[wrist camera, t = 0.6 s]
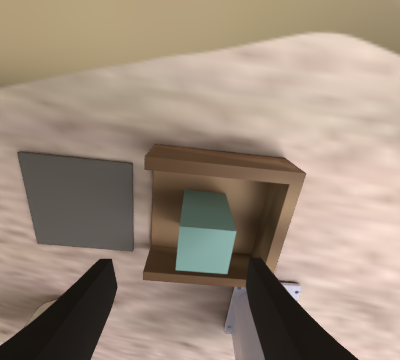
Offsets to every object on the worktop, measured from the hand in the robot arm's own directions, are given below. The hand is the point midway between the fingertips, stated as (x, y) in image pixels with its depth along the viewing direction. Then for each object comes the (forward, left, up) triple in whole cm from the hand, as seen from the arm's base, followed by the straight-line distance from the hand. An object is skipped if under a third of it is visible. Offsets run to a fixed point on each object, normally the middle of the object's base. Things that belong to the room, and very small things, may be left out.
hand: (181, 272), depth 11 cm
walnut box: (-2, -3, -10) cm, 11 cm away
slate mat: (-3, +10, -10) cm, 15 cm away
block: (-2, -2, -10) cm, 10 cm away
